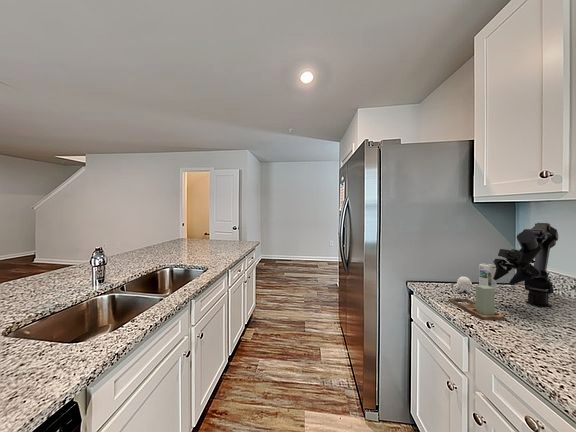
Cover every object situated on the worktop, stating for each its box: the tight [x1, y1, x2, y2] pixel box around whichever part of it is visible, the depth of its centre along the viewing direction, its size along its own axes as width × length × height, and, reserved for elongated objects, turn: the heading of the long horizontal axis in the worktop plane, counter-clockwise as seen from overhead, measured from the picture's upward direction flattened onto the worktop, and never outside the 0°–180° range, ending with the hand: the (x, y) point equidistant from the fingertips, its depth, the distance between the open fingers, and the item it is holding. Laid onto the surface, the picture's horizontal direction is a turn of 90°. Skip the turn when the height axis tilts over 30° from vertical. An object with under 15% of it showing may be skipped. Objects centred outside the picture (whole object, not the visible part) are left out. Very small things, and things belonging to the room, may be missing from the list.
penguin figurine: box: [456, 275, 473, 294], centre depth 142 cm, size 6×8×12 cm
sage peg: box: [475, 284, 496, 316], centre depth 109 cm, size 4×4×12 cm
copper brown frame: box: [448, 297, 506, 321], centre depth 115 cm, size 9×22×1 cm, turn 0°
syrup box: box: [478, 263, 497, 293], centre depth 140 cm, size 6×6×14 cm
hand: (501, 281), depth 112 cm, fingers open, 9 cm apart
